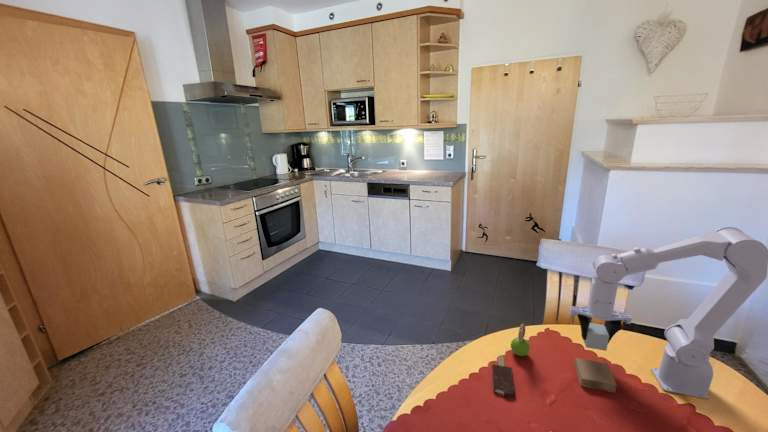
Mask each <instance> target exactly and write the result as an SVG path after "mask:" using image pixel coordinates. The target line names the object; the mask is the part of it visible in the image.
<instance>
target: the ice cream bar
mask: <svg viewBox="0 0 768 432" xmlns="http://www.w3.org/2000/svg"><path fill="white" fill-rule="evenodd" d="M497 363H498V364H492V366H491V368H492V369H491V370H492V371H493V373H492V385H493V386H492V388H494V389H493V394H495V392H497V393H498V394H500V395H502V394H503V395H502V396H503V398H507V399H513V398H515V395H516V392H515V391H516V390H515V385H514V379H513V378H514V377H513V370H512V367H509V366H505V359H504V356H503V355H498V356H497ZM497 393H496V394H497Z"/></svg>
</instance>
